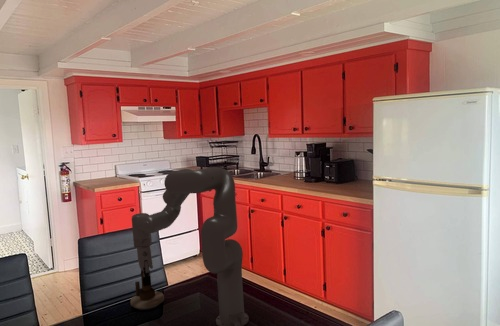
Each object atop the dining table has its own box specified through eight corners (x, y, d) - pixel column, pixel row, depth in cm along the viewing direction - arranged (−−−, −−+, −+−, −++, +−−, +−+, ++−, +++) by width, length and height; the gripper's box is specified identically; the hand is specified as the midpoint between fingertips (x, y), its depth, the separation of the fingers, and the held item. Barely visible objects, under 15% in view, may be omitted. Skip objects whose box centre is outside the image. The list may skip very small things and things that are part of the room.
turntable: (170, 298, 169) (169, 281, 169) (145, 311, 158) (144, 293, 158) (149, 292, 177) (148, 276, 177) (123, 304, 166) (122, 287, 166)
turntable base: (161, 306, 165) (161, 303, 165) (137, 312, 161) (137, 309, 161) (157, 298, 174) (157, 295, 174) (134, 303, 170) (134, 300, 170)
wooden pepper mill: (150, 299, 164) (147, 258, 162) (136, 299, 165) (133, 258, 164) (157, 293, 170) (154, 253, 169) (144, 293, 171) (140, 253, 170)
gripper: (154, 245, 160) (158, 288, 161) (148, 236, 175) (151, 275, 176) (136, 248, 157) (140, 292, 158) (131, 239, 172) (135, 279, 173)
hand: (146, 283), depth 167 cm, fingers open, 4 cm apart
